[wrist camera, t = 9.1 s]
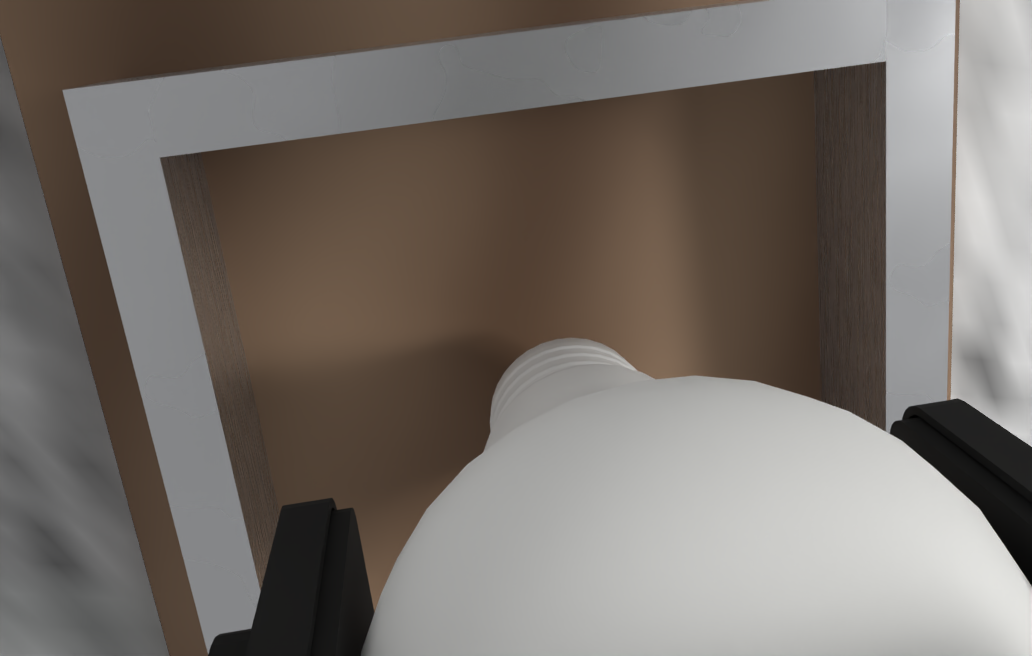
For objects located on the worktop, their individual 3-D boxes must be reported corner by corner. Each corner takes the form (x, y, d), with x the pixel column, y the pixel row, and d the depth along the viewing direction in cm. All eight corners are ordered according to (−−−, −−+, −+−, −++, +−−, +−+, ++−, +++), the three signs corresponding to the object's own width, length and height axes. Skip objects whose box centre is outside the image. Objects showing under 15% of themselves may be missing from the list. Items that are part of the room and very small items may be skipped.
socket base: (929, -119, 16) (962, -128, 15) (919, 636, 21) (944, 665, 20) (13, -10, 15) (-13, -13, 14) (218, 761, 20) (208, 798, 19)
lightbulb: (573, 132, 15) (966, 389, 5) (806, 391, 17) (1467, 998, 6) (298, 395, 16) (95, 1126, 5) (548, 615, 18) (762, 1483, 7)
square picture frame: (871, -17, 16) (956, -24, 13) (873, 616, 19) (939, 698, 17) (116, 79, 15) (62, 90, 12) (271, 722, 18) (252, 825, 16)
